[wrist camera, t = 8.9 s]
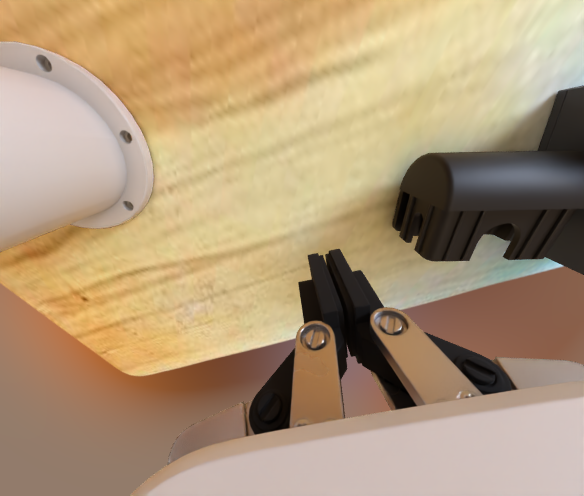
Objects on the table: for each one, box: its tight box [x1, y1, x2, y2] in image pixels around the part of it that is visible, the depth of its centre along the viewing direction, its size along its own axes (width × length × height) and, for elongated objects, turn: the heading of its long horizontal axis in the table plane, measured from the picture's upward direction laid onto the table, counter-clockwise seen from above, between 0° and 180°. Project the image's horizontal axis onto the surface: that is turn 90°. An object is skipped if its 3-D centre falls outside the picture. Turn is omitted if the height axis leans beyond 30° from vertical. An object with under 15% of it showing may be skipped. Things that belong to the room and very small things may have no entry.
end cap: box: [393, 151, 584, 261], centre depth 16 cm, size 10×7×7 cm
